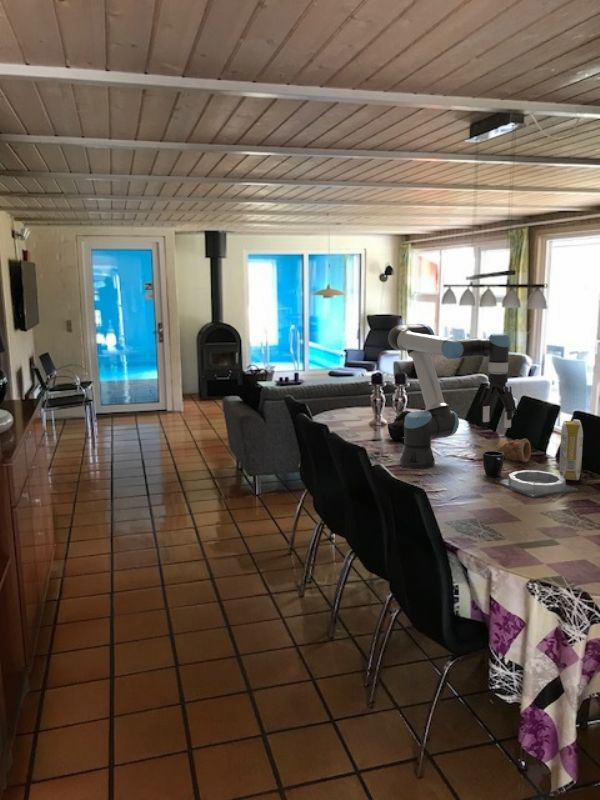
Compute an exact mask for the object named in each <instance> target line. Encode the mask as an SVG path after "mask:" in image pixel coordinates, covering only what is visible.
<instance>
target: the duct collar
mask: <svg viewBox="0 0 600 800" xmlns="http://www.w3.org/2000/svg"><path fill="white" fill-rule="evenodd" d="M498 483H499V485H501V486H504V487H505V486H506V487H505V488H508V489H510V490H513V491H516V492H517V491H518V493H520V494H523V495H525V496H528V497H530V498H533V499H535V498H540V497H541V498H542V497H548V496H554V495H562V494H567V493H574V492H578V491H579V489H578V488H576V487H573V486H570V485H568V484H566V479H564V478H563V477H562V476H561V474H558V473H554V472H550V471H549V472H548V471H544V470H530V469H528V470H527V469H525V470H524V469H523V470H518V471H513V472H511V473H509V474H508V479H507V478H506V479H499V480H496V484H498Z"/></svg>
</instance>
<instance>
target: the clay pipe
mask: <svg viewBox="0 0 600 800" xmlns="http://www.w3.org/2000/svg"><path fill="white" fill-rule="evenodd" d="M496 451H498V452H502V453H504V459H507V460H511V461H512V462H517V461H519V462H521V463H524V462H525V463H528V462H529V460H530V459H531V458H530V457H531V455H532V454H531V452H532V447H531V442H530V441H529V440H528V438H522V439H514V440H505V439H502V440H500V441H498V443H496ZM527 461H528V462H527Z"/></svg>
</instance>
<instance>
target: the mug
mask: <svg viewBox="0 0 600 800" xmlns="http://www.w3.org/2000/svg"><path fill="white" fill-rule="evenodd" d="M504 460H505V457H504V453H502V452H498V451H497V450H486V451H483V452H482V464H483V470H484V473H485V476H486V475H487V476H486V477H488V476H489V478H499V477H500V476H501V473H502V470H503V467H504V462H505V461H504Z"/></svg>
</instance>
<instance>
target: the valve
mask: <svg viewBox="0 0 600 800" xmlns="http://www.w3.org/2000/svg"><path fill="white" fill-rule="evenodd" d="M411 412H412V411H410V410H404V411H401V412H400V413H399V414H398V416H396V417H395V419H394V422H391V423H387V430H388V431H387V432H388V435H389V436H390V439H391V438H392V439H393V440H392V439H391V440H392V441H396V440H397V441H398V440H400V439H402V438H404V422H405V416H406V415H407V414H408V413H411Z"/></svg>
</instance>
